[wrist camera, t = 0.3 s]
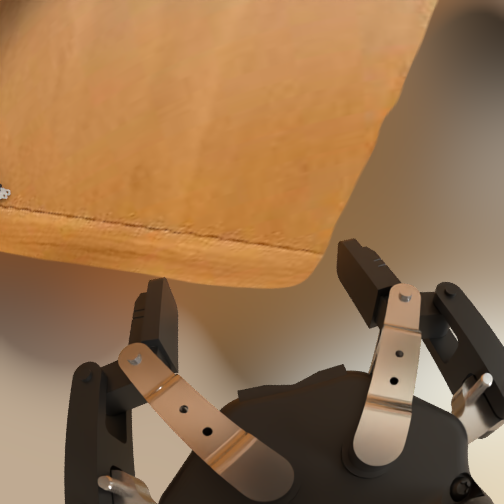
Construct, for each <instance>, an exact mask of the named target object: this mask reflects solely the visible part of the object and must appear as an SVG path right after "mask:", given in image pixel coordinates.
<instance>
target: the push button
mask: <svg viewBox="0 0 504 504" xmlns="http://www.w3.org/2000/svg"><path fill="white" fill-rule="evenodd" d="M6 191H8V194H7V193H6ZM4 195H5V197H4ZM7 195H10V190H8V189H4V188H2V185H1V184H0V199H1V198H4V199H7Z"/></svg>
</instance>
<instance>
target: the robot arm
mask: <svg viewBox="0 0 504 504" xmlns="http://www.w3.org/2000/svg"><path fill="white" fill-rule="evenodd" d="M337 274H338V278H339V280H340V282H341V283H342V285H343V286H344V288H345V290H346V291H347V293H348V294H349V296H350V298H351V299H352V301H353V302H354V304H355V306H356V307H357V309H358V311H359V312H360V314H361V315H362V317H363V319H364V321H365V322H366V324H367V326H368V327H369V328H373V327H376V326H378V327H379V329H380V331H379V334H378V338H377V343H376V347H375V351H374V355H373V359H372V362H371V366H370V370H369V372H368V373H365V372H361V371H346V369H345V367H344V365H343V364H342V365H338V366H335V367H332V368H329V369H325V370H322V371H318V372H317V373H315V374H313V375H311V376H309V377H308V378H306V379H304V380H302V381H300V382H298V383H296V384H293V385H263V386H259V387H254V388H249V389H245V390H239V391H238V397H239V398H237V399H235V400H233V401H232V402H230V403H228V404H227V405H225V406H224V407H223V408H222V409H221V410H220V411H219V410H218V409H216V408H215V407H214V406H213V405H212V404H211V403H209V402H208V401H207V400H206V399H205V398H204V397H203V396H201V395H200V394H199V393H198V392H197V391H196V390H195V389H194V388H193V387H191V386H190V385H189V384H188V383H187V382H186V381H185V380H184V379H183V378H182V377H181V376H179V375H178V374H176V375H175V374H174V373H178V310H177V305H176V302H175V300H174V297H173V295H172V292H171V289H170V287H169V284H168V282H167V279H166V278H165V277H164V278H159V279H154V280H150V281H149V283H148V289H147V292H146V293H141V294H140V296H139V297H138V298H137V300H136V302H135V307H134V313H133V320H132V324H131V331H130V337H129V344H128V346H126V347H125V348H124V349H123V350H122V351H121V353H120V354H119V357H118V360H117V361H115V362H113V363H110V364H108V365H106V366H103V367H100V366H99V365H98V364H97V363H94V362H86V363H83V364H82V365H80V366H79V367H78V368H77V369H76V371H75V372H74V375H73V380H72V387H71V393H70V401H69V409H68V418H67V429H66V430H67V431H66V443H65V471H64V473H65V476H64V477H65V478H64V483H65V484H64V485H65V504H157V503H156V502H155V501H154V500H153V499H152V498H151V496H150V493H149V489H148V487H147V486H146V484H145V483H144V482H143V481H142V480H140V479H138V478H136V477H135V471H134V458H133V441H132V409H133V408H135V407H137V406H140V405H143V404H145V403H149V404H150V405H151V406H152V408H153V409H154V410H155V411H156V412H157V413H158V414H159V416H160V417H161V418H162V419H163V420H164V421H165V422H166V423H167V424H168V425H169V426H170V428H171V429H172V430H173V431H174V432H175V433H176V434H177V435H178V436H179V437H180V438H181V439H182V440H183V441H184V442H185V443H186V444H187V445H188V446H189V447H190V448H191V449H192V452H191V453H190V455H189V456H188V458H187V460H186V461H185V462H184V464H183V465H182V467H181V468H180V470H179V471H178V473H177V474H176V476H175V477H174V478H173V480H172V482H171V483H170V484H169V486H168V487H167V489H166V490H165V491H164V493H163V494H162V496H161V498H160V500H159V503H158V504H494V503H493V502H492V500H491V498H490V497H489V496H488V495H487V494H486V493H485V492H484V491H483V490H482V489H481V488H480V487H479V486H478V485H477V484H476V482H475V481H474V480H473V478H472V477H471V475H470V472H469V466H468V444H469V443H471V442H473V441H474V440H476V439H477V438H478V439H483V438H486V437H487V436H489V435H490V434H491V433H493V432H494V431H495V430H497V429H498V428H499V427H500V426H502V425H503V424H504V347H503V345H502V344H501V342H500V341H499V339H498V338H497V336H496V335H495V333H494V332H493V331H492V329H491V328H490V326H489V325H488V324H487V322H486V321H485V320H484V318H483V317H482V316H481V314H480V313H479V312H478V310H477V309H476V308H475V306H474V305H473V304H472V303H471V301H470V300H469V299H468V298H467V296H466V295H465V294H464V293H463V291H462V290H461V289H460V288H459V287H458V286H457V285H455V284H453V283H450V282H442V283H440V284H438V285H437V287H436V290H435V292H419V291H418V290H417V289H416V288H415V287H414V286H412V285H410V284H405V283H401V282H400V281H399V279H398V278H397V277H396V276H395V275H394V274H393V272H392V271H391V270H390V269H389V267H388V266H387V265H385V263H384V262H383V260H381V258H380V257H379V256H378V255H377V254H376V252H375V251H373V250H371V249H370V248H368V247H362V246H361V245H360V244H359V243H358V242H357V240H356V239H349V240H344V241H340V242H339V243H338V254H337ZM450 327H451V329H452V330H453V332H454V333H455V335H456V336H457V339H458V341H457V340H456V338H455V337H454V335H453V333H452V332H451V330H450V329H449V328H450ZM421 339H422V340H423V342H424V343H425V345H426V347H427V349H428V350H429V352H430V354H431V356H432V357H433V359H434V361H435V363H436V364H437V366H438V368H439V370H440V372H441V374H442V375H443V377H444V379H445V381H446V383H447V385H448V387H449V389H450V390H451V392H452V394H453V398H452V401H451V406H452V412H451V413H452V414H451V413H449V412H447V411H445V410H443V409H441V408H439V407H436V406H434V405H432V404H430V403H428V402H426V401H424V400H422V399H420V398H418V397H416V396H414V395H413V394H414V388H415V382H416V376H417V369H418V362H419V354H420V345H421Z"/></svg>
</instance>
